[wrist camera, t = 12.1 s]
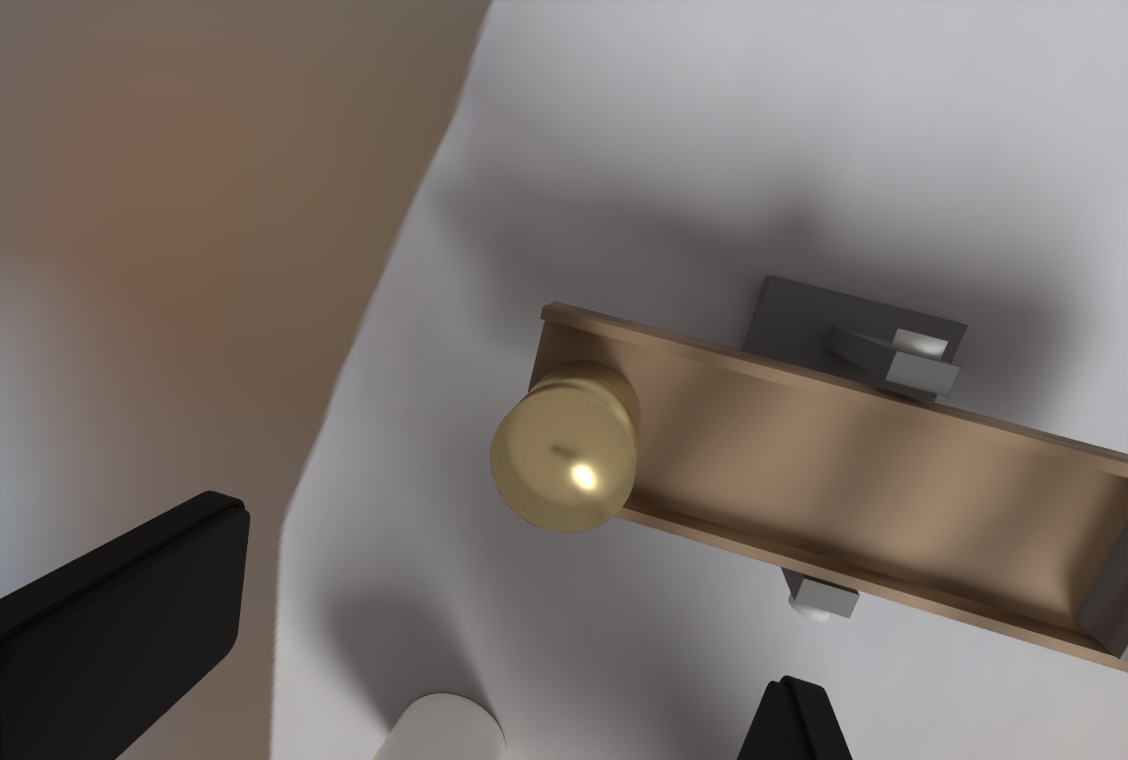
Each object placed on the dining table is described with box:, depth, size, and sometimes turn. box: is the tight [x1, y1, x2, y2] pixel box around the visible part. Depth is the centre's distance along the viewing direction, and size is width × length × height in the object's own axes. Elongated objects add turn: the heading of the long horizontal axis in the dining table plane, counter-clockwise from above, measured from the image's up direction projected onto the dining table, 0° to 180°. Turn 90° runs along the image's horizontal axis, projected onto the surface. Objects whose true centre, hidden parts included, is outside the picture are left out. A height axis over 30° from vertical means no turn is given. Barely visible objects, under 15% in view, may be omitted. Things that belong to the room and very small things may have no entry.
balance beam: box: [528, 301, 1128, 673], centre depth 23 cm, size 30×8×4 cm, turn 76°
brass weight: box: [490, 360, 641, 533], centre depth 22 cm, size 5×5×6 cm
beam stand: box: [742, 275, 967, 622], centre depth 27 cm, size 10×15×9 cm, turn 166°
